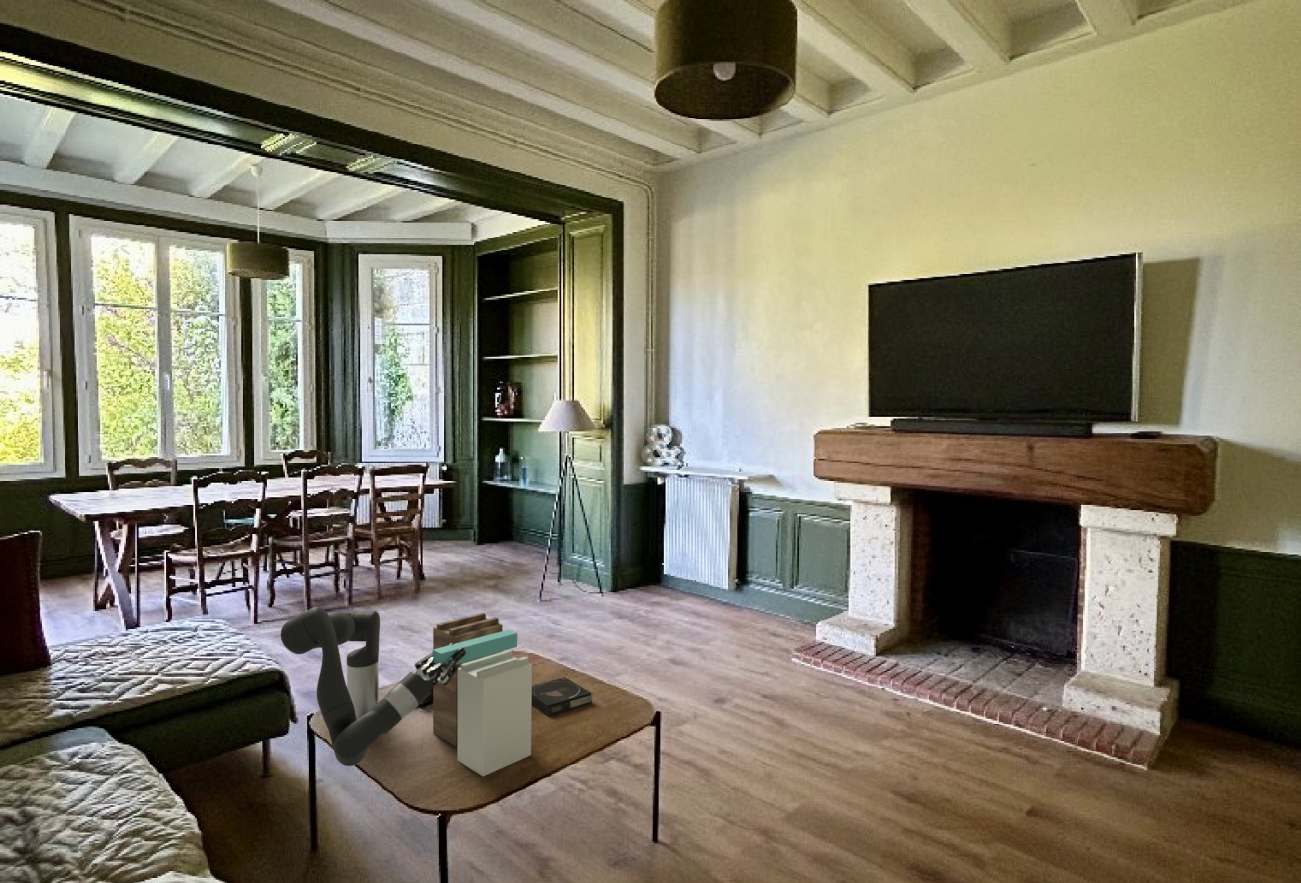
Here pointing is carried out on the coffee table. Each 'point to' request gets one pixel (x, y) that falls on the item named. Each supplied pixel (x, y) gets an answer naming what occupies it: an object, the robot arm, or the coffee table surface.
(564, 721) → the coffee table surface
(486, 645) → the teal bar
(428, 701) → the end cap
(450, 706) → the walnut plinth
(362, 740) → the robot arm
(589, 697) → the portable cd player
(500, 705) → the grey plinth
